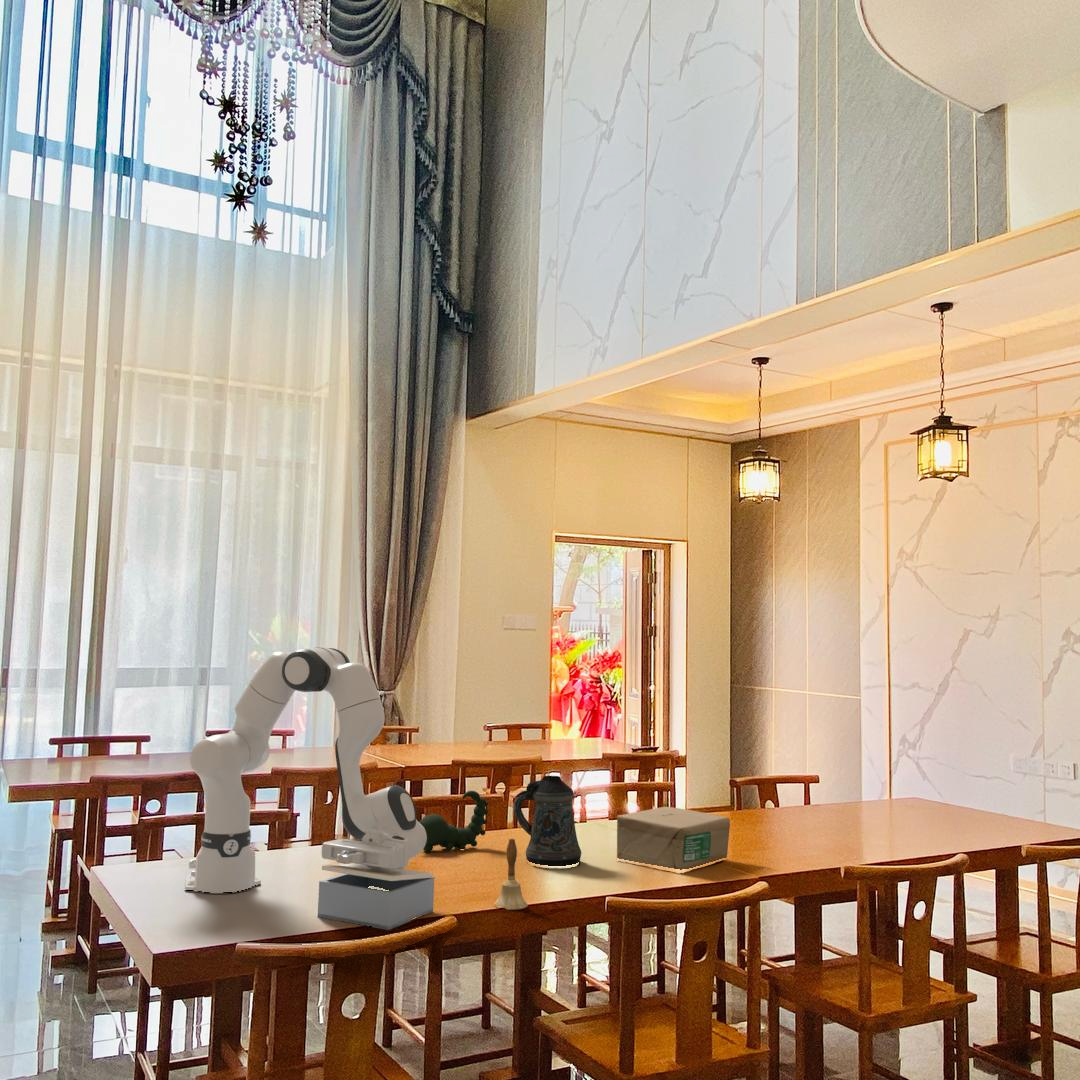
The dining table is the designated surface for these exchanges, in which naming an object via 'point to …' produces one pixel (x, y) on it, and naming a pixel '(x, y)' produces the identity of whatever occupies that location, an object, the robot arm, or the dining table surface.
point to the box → (375, 900)
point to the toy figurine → (451, 835)
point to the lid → (377, 872)
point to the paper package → (672, 837)
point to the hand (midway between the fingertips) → (341, 859)
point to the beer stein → (549, 823)
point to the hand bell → (511, 884)
